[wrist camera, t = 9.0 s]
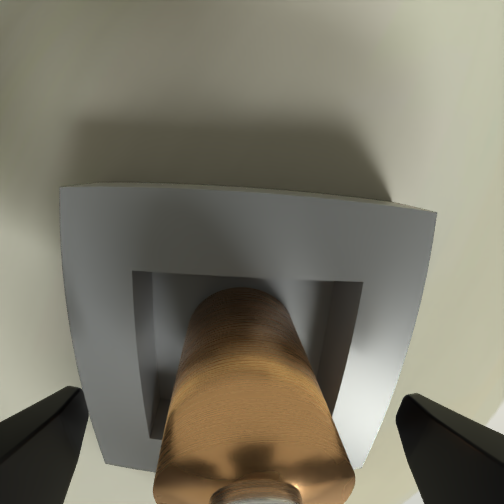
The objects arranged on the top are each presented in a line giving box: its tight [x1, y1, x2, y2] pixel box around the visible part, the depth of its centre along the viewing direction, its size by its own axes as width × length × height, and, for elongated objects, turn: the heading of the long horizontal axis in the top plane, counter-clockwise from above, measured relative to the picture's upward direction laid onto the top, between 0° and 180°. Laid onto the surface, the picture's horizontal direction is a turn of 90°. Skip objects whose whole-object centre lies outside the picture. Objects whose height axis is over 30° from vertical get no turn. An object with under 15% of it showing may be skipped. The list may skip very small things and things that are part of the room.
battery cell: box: [153, 287, 355, 504], centre depth 8 cm, size 4×4×8 cm
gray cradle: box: [60, 182, 437, 472], centre depth 11 cm, size 11×11×3 cm
